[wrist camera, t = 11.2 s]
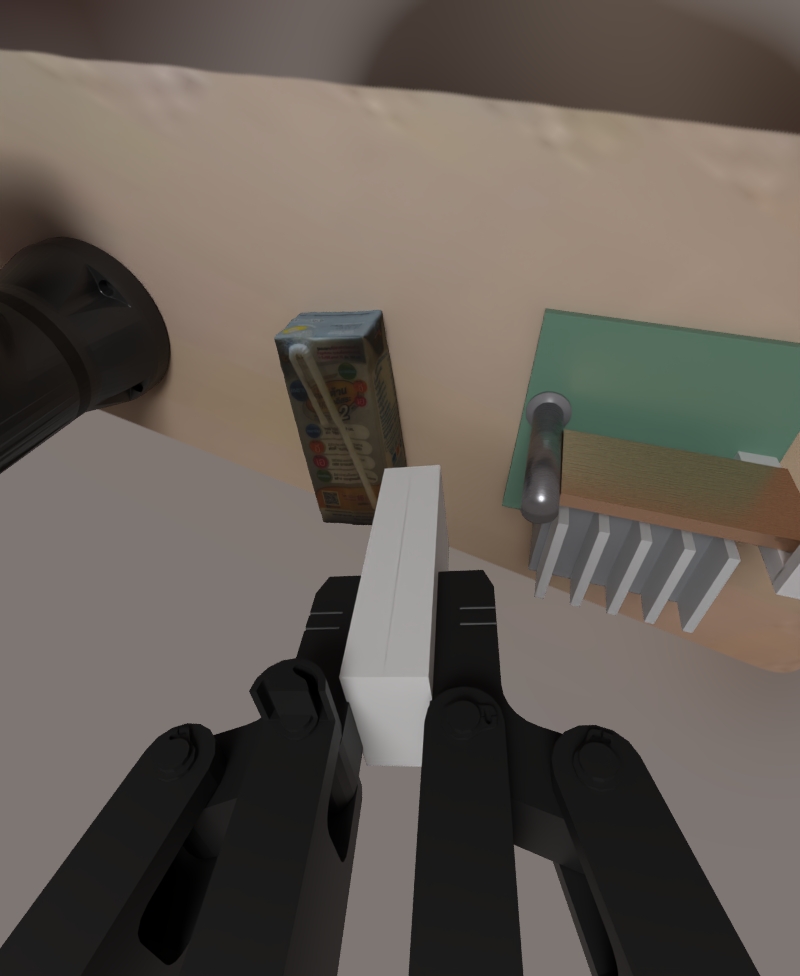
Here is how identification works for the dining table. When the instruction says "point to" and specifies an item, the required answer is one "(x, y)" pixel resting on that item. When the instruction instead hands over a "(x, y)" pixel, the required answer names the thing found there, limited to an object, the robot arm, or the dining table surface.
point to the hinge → (656, 485)
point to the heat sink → (662, 422)
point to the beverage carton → (343, 408)
